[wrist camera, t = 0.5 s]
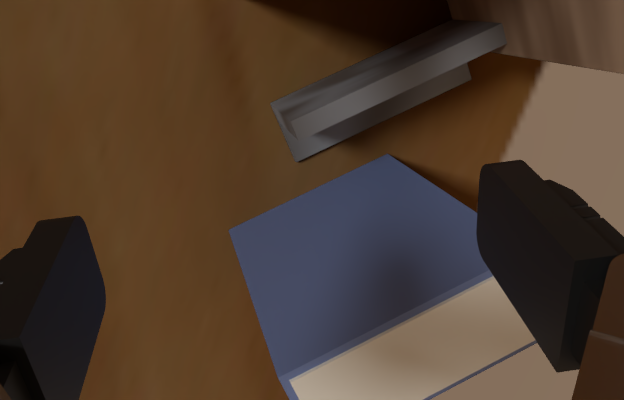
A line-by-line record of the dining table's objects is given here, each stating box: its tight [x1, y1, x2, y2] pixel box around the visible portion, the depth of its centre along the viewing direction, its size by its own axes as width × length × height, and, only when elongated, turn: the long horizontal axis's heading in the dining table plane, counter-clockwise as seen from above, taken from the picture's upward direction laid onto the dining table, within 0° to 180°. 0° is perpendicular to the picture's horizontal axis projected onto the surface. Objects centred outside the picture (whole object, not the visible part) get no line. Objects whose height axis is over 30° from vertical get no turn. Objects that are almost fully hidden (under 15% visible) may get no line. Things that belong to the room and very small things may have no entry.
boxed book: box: [229, 154, 537, 400], centre depth 28 cm, size 10×4×14 cm, turn 112°
